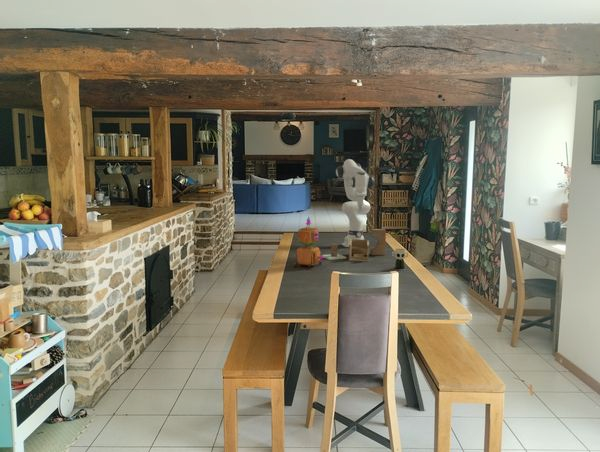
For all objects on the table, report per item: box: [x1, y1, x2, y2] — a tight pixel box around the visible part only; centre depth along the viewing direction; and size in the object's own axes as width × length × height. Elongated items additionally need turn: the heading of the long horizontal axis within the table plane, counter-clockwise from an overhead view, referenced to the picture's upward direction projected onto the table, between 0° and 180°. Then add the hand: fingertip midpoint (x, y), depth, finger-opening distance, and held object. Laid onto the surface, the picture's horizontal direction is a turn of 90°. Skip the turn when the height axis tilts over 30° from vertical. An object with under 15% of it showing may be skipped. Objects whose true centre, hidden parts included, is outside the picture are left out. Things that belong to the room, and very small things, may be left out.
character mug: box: [391, 248, 409, 269], centre depth 341 cm, size 11×7×13 cm, turn 84°
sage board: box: [321, 253, 347, 261], centre depth 377 cm, size 14×14×1 cm
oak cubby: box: [348, 239, 370, 262], centre depth 377 cm, size 26×14×12 cm, turn 172°
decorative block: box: [369, 228, 387, 256], centre depth 389 cm, size 11×6×20 cm, turn 89°
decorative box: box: [293, 216, 324, 270], centre depth 343 cm, size 19×21×35 cm
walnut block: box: [330, 243, 339, 257], centre depth 376 cm, size 4×4×9 cm
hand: (360, 211), depth 384 cm, fingers open, 8 cm apart
